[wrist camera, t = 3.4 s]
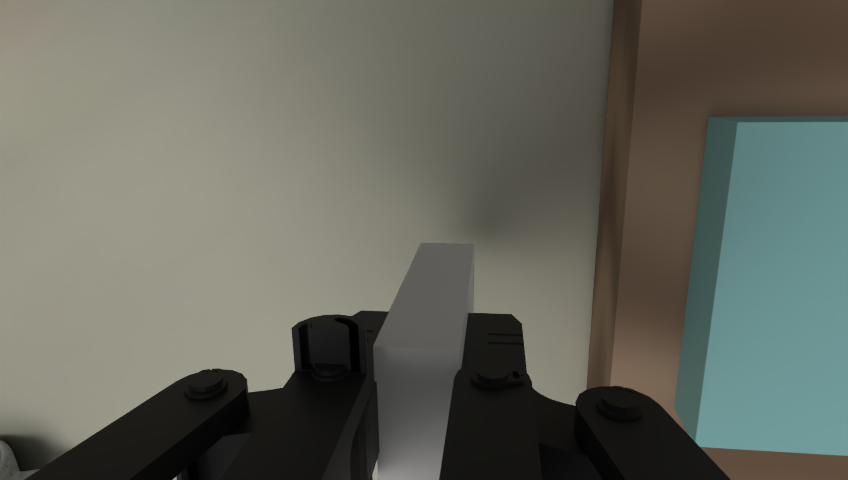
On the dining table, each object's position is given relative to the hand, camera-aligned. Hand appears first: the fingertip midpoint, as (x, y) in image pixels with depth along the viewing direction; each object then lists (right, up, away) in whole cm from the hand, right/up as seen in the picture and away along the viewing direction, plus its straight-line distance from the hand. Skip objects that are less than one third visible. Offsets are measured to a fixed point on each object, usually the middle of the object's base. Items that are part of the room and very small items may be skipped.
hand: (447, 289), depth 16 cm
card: (+10, 0, 0) cm, 10 cm away
